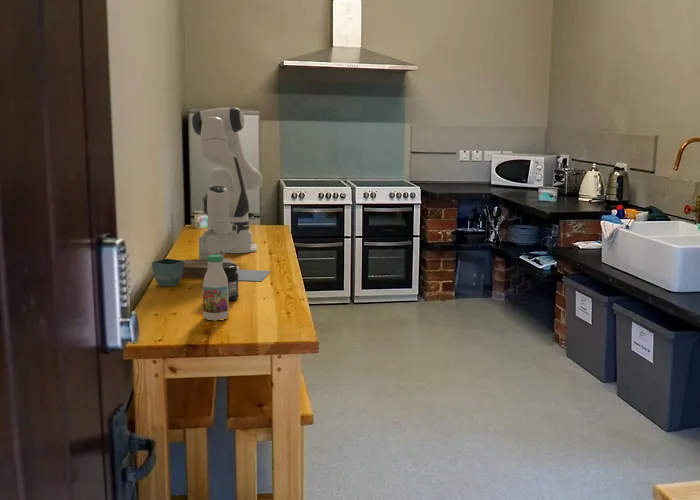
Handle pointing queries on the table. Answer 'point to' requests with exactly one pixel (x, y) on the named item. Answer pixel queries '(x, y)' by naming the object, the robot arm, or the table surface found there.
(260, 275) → the mat
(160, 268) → the flower pot
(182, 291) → the table surface
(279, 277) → the table surface
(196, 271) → the board
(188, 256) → the table surface
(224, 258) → the beige rectangular block
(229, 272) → the supplement container
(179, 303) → the table surface
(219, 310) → the milk bottle
